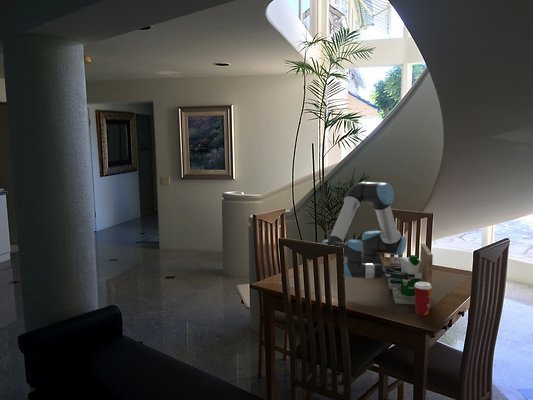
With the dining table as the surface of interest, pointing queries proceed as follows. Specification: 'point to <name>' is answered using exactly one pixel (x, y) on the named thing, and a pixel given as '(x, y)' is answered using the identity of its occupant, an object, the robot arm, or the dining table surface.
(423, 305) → the paper cup
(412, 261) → the soya milk
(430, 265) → the brown wood-grained piece
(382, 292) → the dining table surface
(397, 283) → the tea box
